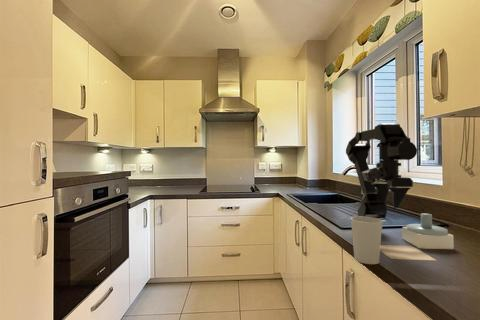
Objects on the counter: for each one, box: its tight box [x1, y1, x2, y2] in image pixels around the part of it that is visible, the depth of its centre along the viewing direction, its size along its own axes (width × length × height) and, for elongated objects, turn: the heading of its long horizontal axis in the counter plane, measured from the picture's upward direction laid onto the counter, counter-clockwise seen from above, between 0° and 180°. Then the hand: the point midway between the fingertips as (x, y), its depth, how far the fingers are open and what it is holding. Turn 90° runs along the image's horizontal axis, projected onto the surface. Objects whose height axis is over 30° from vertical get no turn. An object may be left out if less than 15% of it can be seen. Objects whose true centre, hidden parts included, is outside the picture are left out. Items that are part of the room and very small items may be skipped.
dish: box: [402, 226, 455, 250], centre depth 85 cm, size 10×10×5 cm
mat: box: [380, 244, 438, 262], centre depth 78 cm, size 12×12×1 cm
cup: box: [350, 215, 384, 265], centre depth 72 cm, size 8×8×12 cm
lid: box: [406, 212, 449, 236], centre depth 86 cm, size 11×11×6 cm
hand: (388, 205), depth 89 cm, fingers open, 9 cm apart
